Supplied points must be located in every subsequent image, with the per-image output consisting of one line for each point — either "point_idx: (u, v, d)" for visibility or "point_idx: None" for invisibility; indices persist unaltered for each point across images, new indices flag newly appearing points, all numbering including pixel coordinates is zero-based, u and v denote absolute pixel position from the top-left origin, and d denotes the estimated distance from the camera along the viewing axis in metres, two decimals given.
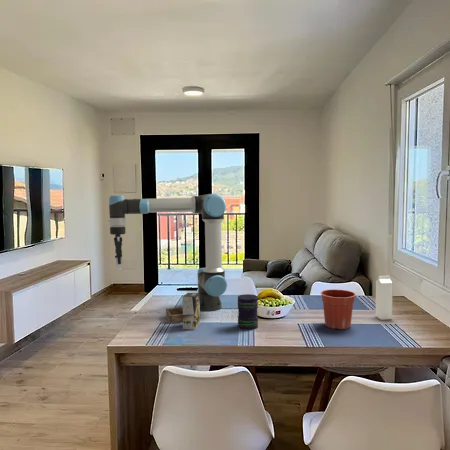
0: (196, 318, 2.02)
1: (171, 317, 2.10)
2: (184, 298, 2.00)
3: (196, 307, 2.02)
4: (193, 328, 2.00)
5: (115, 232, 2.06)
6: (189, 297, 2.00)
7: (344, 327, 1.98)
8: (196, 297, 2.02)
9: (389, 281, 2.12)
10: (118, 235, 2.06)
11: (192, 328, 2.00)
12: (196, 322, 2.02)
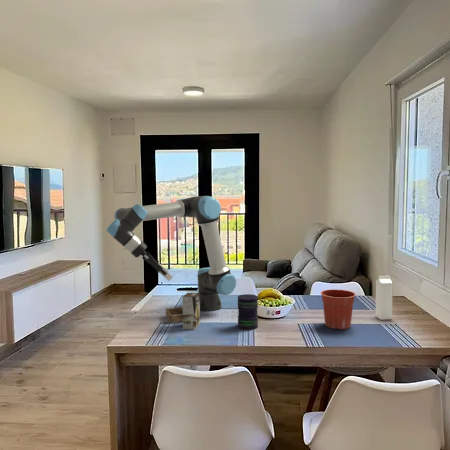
0: (196, 318, 2.02)
1: (171, 317, 2.10)
2: (184, 298, 2.00)
3: (196, 307, 2.02)
4: (193, 328, 2.00)
5: (139, 253, 1.92)
6: (189, 297, 2.00)
7: (344, 327, 1.98)
8: (196, 297, 2.02)
9: (389, 281, 2.12)
10: (143, 253, 1.93)
11: (192, 328, 2.00)
12: (196, 322, 2.02)
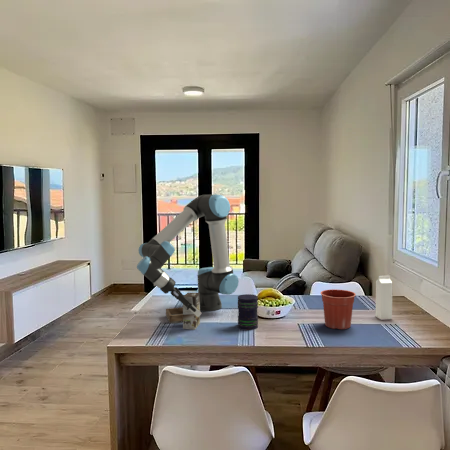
0: (196, 318, 2.02)
1: (171, 317, 2.10)
2: None
3: (196, 307, 2.02)
4: (193, 328, 2.00)
5: (168, 290, 1.97)
6: (189, 297, 2.00)
7: (344, 327, 1.98)
8: (196, 297, 2.02)
9: (389, 281, 2.12)
10: (172, 289, 1.97)
11: (192, 328, 2.00)
12: (196, 322, 2.02)
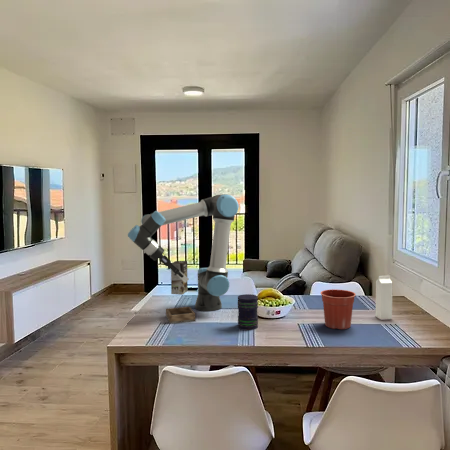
0: (183, 284, 2.14)
1: (171, 317, 2.10)
2: None
3: (184, 274, 2.14)
4: (181, 293, 2.13)
5: (157, 256, 2.10)
6: (177, 264, 2.12)
7: (344, 327, 1.98)
8: (184, 264, 2.14)
9: (389, 281, 2.12)
10: (161, 256, 2.10)
11: (180, 293, 2.13)
12: (183, 288, 2.14)
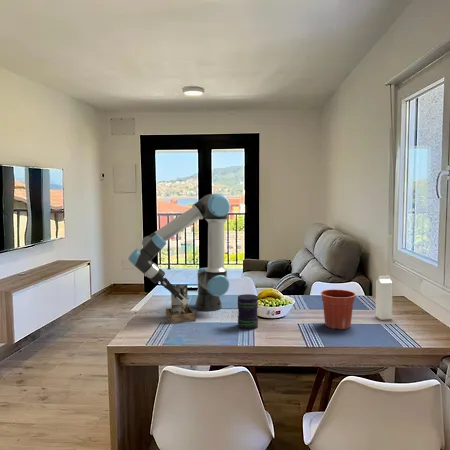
0: (184, 308, 2.15)
1: (171, 317, 2.10)
2: None
3: None
4: None
5: (157, 280, 2.10)
6: (177, 289, 2.13)
7: (344, 327, 1.98)
8: (184, 289, 2.15)
9: (389, 281, 2.12)
10: (162, 280, 2.11)
11: None
12: (184, 312, 2.16)
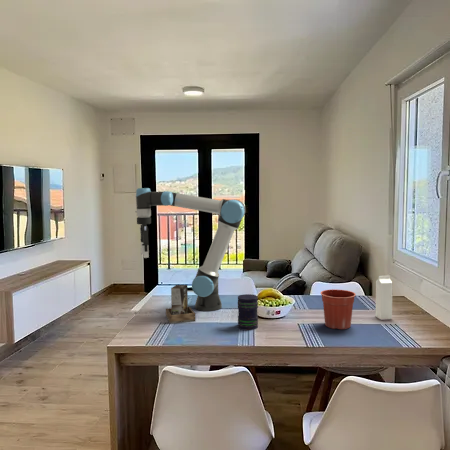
0: (184, 308, 2.15)
1: (171, 317, 2.10)
2: (172, 289, 2.14)
3: (184, 298, 2.15)
4: None
5: (142, 222, 2.22)
6: (177, 289, 2.13)
7: (344, 327, 1.98)
8: (184, 289, 2.15)
9: (389, 281, 2.12)
10: (144, 225, 2.22)
11: None
12: (184, 312, 2.16)
